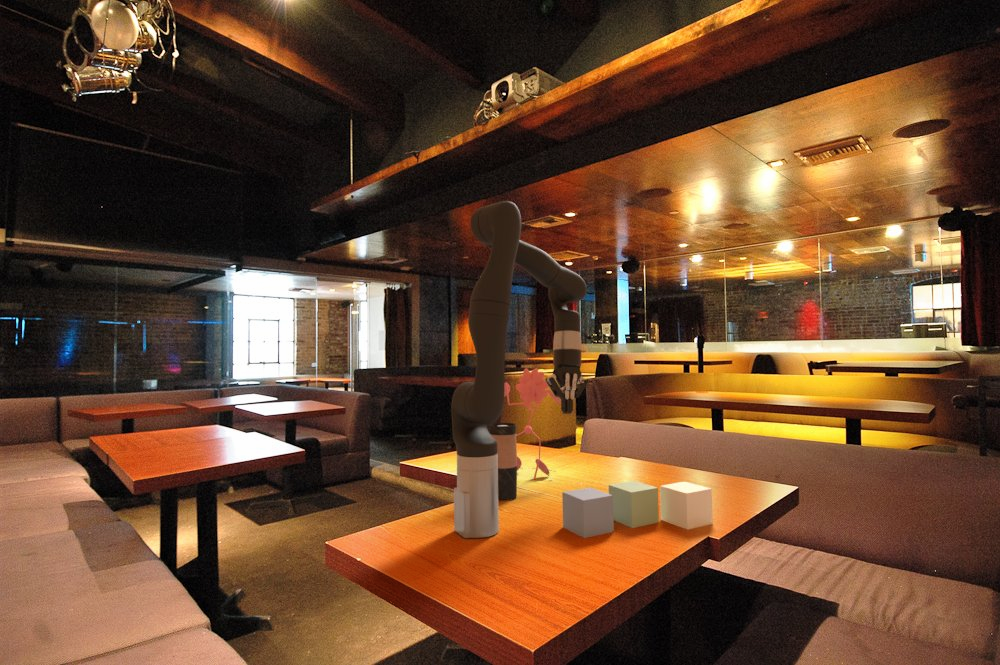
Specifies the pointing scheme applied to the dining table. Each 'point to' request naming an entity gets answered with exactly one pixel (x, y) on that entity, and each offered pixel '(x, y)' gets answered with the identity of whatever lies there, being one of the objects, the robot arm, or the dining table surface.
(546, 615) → the dining table surface
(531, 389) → the pink flower figurine
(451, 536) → the dining table surface
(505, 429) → the travel mug
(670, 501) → the ivory block
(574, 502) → the slate block
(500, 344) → the robot arm
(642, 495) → the sage block
